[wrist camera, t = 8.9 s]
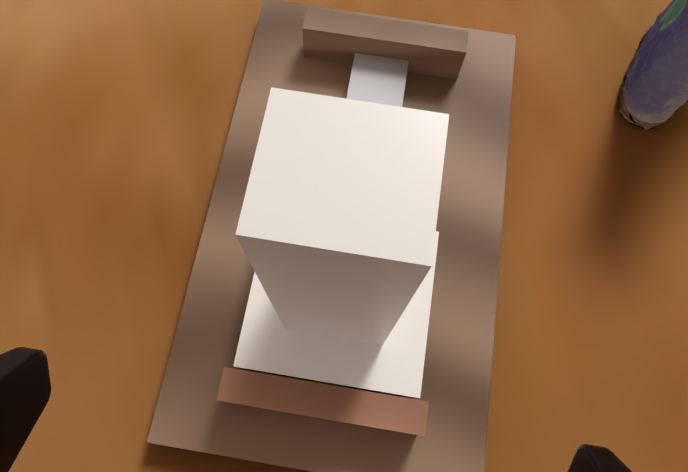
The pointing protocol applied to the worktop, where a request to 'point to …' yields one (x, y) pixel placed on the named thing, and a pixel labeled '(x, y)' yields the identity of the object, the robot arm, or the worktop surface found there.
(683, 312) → the worktop surface
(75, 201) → the worktop surface
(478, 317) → the rail board
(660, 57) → the flask
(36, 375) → the robot arm
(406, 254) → the slider
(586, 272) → the worktop surface
